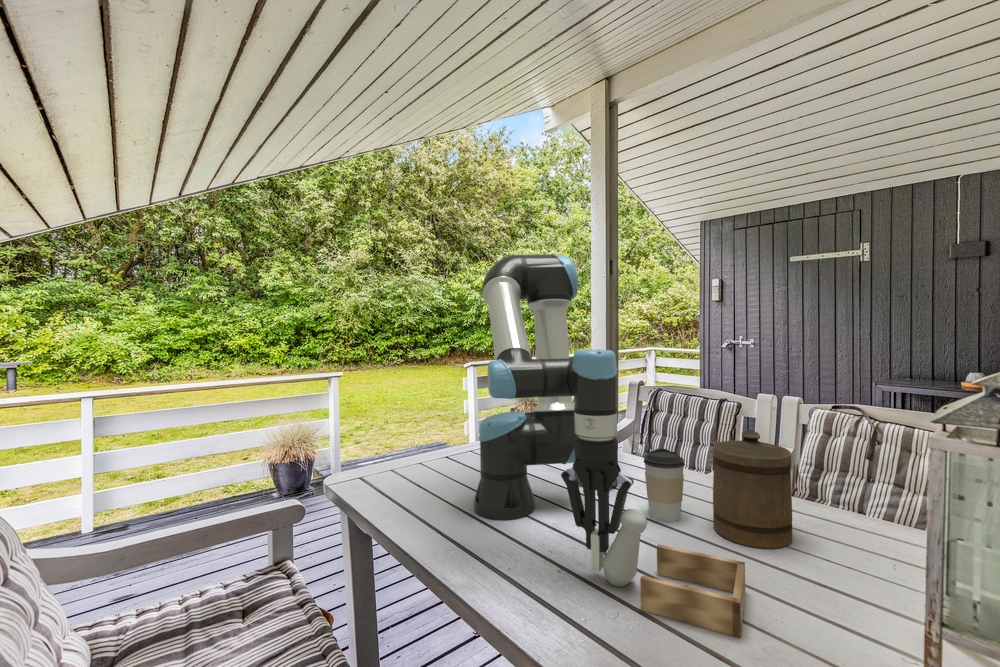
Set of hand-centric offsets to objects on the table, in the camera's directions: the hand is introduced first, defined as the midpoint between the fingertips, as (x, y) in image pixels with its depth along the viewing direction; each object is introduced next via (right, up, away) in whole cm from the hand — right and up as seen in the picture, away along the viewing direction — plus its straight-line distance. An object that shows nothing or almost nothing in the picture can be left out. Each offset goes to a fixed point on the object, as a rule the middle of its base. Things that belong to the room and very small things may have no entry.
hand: (597, 568), depth 83 cm
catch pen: (+14, -1, -8) cm, 16 cm away
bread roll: (+10, -2, +51) cm, 52 cm away
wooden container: (+36, -1, +16) cm, 40 cm away
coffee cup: (+21, -1, +26) cm, 34 cm away
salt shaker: (+3, -1, -1) cm, 3 cm away
